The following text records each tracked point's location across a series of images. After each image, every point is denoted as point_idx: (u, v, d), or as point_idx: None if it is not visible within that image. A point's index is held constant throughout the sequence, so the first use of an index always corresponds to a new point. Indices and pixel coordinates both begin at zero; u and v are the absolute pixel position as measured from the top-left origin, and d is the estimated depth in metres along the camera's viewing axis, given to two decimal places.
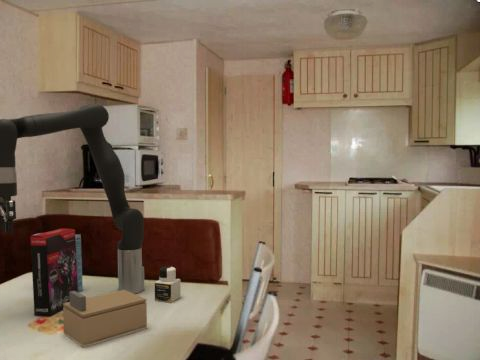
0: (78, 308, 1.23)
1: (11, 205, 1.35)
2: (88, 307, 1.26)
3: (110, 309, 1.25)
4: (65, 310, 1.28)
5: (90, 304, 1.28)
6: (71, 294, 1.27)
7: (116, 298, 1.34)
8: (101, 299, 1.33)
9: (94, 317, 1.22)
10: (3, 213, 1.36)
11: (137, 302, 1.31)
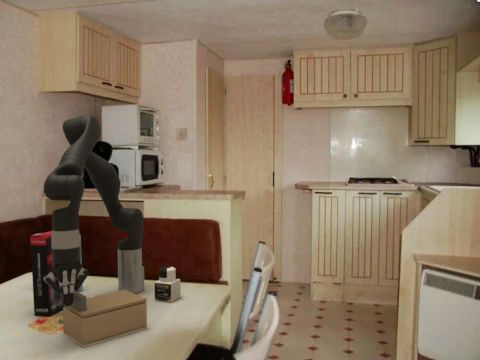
0: (78, 308, 1.23)
1: None
2: (88, 307, 1.26)
3: (110, 309, 1.25)
4: (65, 310, 1.28)
5: (90, 304, 1.28)
6: None
7: (117, 298, 1.34)
8: (101, 299, 1.33)
9: (94, 317, 1.22)
10: (74, 283, 1.23)
11: (137, 302, 1.31)
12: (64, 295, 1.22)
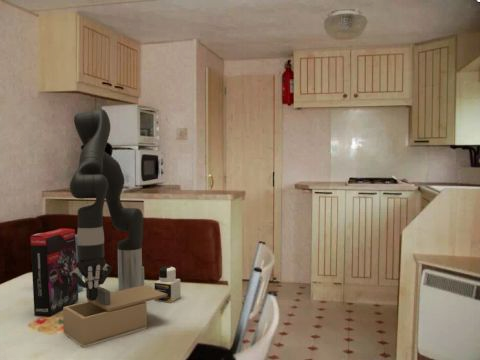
0: (103, 302, 1.28)
1: None
2: (112, 301, 1.31)
3: (133, 303, 1.30)
4: (65, 310, 1.28)
5: (113, 299, 1.33)
6: None
7: (137, 293, 1.39)
8: (123, 294, 1.38)
9: (94, 317, 1.22)
10: (98, 279, 1.28)
11: (158, 297, 1.36)
12: (89, 290, 1.27)
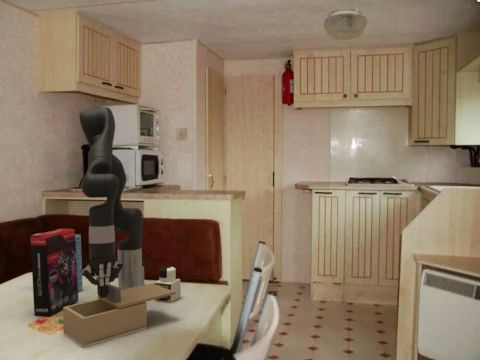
0: (113, 300, 1.31)
1: None
2: (122, 299, 1.33)
3: (143, 301, 1.32)
4: (65, 310, 1.28)
5: (123, 296, 1.36)
6: None
7: (147, 290, 1.42)
8: (133, 292, 1.40)
9: (94, 317, 1.22)
10: (109, 276, 1.31)
11: (167, 294, 1.38)
12: (100, 287, 1.29)
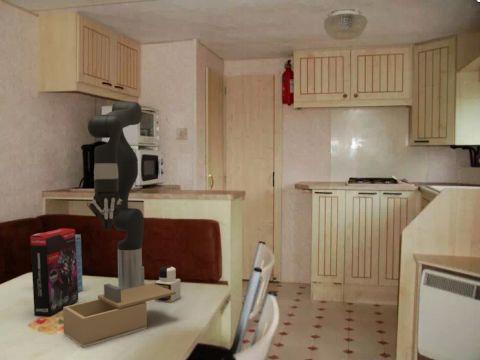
0: (113, 300, 1.31)
1: None
2: (122, 299, 1.33)
3: (143, 301, 1.32)
4: (65, 310, 1.28)
5: (123, 296, 1.36)
6: (106, 287, 1.34)
7: (147, 290, 1.42)
8: (133, 292, 1.40)
9: (94, 317, 1.22)
10: (113, 211, 1.42)
11: (167, 294, 1.38)
12: (105, 220, 1.41)
